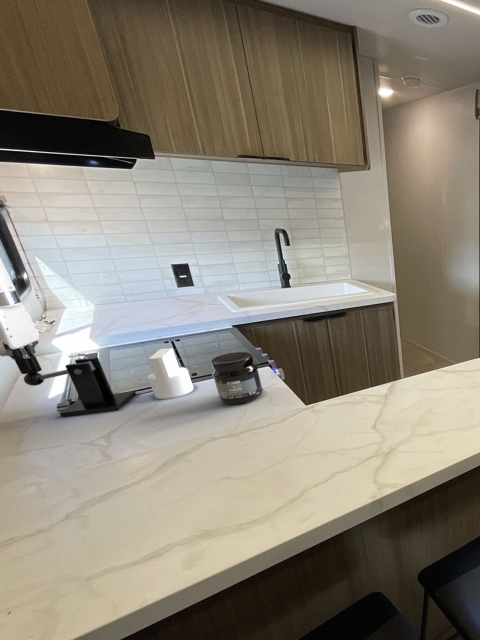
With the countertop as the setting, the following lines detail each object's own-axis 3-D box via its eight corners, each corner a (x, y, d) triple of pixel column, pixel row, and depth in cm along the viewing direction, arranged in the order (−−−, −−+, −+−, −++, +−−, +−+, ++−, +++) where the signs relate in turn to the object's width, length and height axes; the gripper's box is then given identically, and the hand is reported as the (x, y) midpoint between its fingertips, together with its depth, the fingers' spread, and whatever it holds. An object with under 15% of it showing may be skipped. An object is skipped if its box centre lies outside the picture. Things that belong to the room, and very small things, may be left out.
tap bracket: (61, 417, 103) (38, 371, 98) (84, 401, 112) (65, 357, 107) (118, 410, 106) (99, 365, 101) (136, 394, 115) (120, 352, 110)
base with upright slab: (161, 388, 119) (147, 350, 114) (197, 383, 122) (185, 346, 117) (149, 401, 111) (134, 360, 107) (188, 395, 114) (175, 356, 110)
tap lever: (25, 389, 101) (16, 377, 100) (35, 384, 104) (26, 372, 103) (90, 374, 104) (83, 362, 103) (98, 370, 107) (90, 358, 106)
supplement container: (250, 387, 119) (240, 348, 115) (271, 394, 115) (262, 355, 110) (212, 400, 111) (200, 360, 106) (234, 409, 106) (221, 367, 102)
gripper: (0, 295, 100) (34, 364, 107) (-54, 308, 87) (-11, 385, 94) (38, 293, 102) (69, 360, 109) (-9, 305, 89) (30, 381, 96)
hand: (32, 372), depth 102 cm, fingers closed
